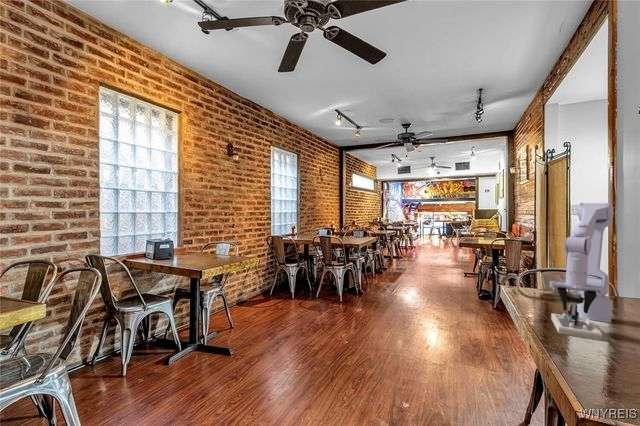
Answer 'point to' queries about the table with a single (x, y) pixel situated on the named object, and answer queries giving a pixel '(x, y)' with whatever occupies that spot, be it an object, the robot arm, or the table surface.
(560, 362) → the table surface
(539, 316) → the table surface
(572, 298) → the push button
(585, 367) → the table surface
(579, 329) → the pin tray
